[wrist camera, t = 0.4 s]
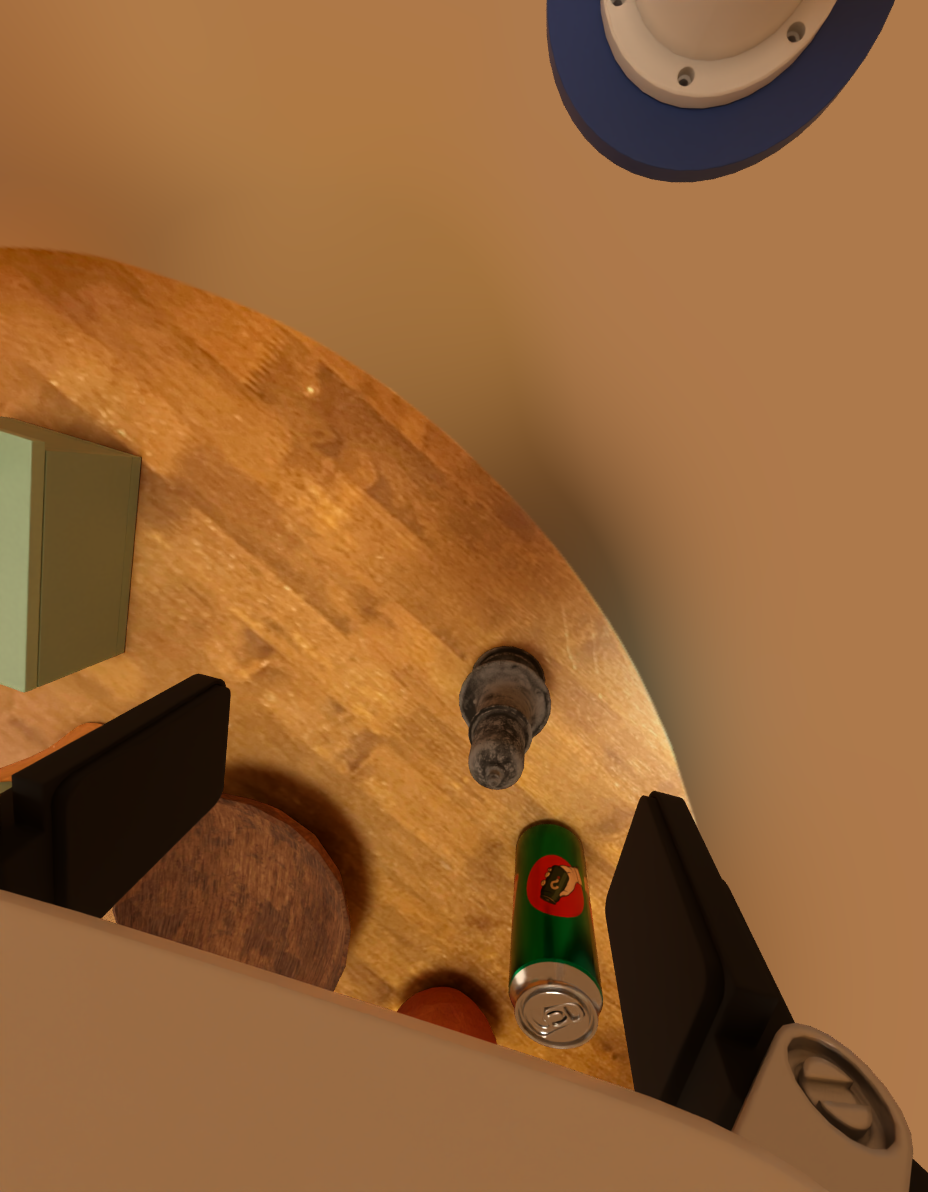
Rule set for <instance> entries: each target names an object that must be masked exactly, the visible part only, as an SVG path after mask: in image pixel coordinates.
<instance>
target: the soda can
mask: <svg viewBox="0 0 928 1192" xmlns="http://www.w3.org/2000/svg"><path fill="white" fill-rule="evenodd" d="M509 997H510V1000H511V1002H512V1005H513V1007H514V1012H515V1017H516V1021H517V1023H518V1025H519V1027H520V1028H521V1030H522V1031H523V1032H524V1033H525V1034H526V1035H527V1036H528V1037H529V1038H531V1039H532V1040H534V1041H536V1042H537V1043H539V1044H542V1045H544V1046H547V1047H551V1048H557V1049H569V1048H575V1047H578V1046H581V1045H583V1044H585V1043H587V1042H588V1041H589V1040H590V1039H591V1038H592V1037H593V1036H594V1035H595V1033H596V1031H597V1027H598V1016H599V1014H600V1012H601V1010H602V1006H603V995H602V987H601V979H600V972H599V964H598V956H597V949H596V941H595V934H594V926H593V918H592V911H591V903H590V895H589V888H588V880H587V873H586V865H585V857H584V850H583V847H582V844H581V843H580V841H579V839H578V838H577V837H576V836H575V835H574V834H573V833H572V832H570V831H569V830H567V829H565V828H563V827H561V826H558V825H554V824H540V825H536V826H534V827H531V828H530V829H528V830H526V831H525V832H524V833H523V834H522V835H521V836H520V838H519V840H518V842H517V846H516V859H515V877H514V896H513V914H512V933H511V951H510V970H509Z"/></svg>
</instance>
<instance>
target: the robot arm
mask: <svg viewBox="0 0 928 1192" xmlns="http://www.w3.org/2000/svg"><path fill="white" fill-rule="evenodd" d="M836 1H837V0H600V5H601V16H602V21H603V25H604V30H605V35H606V38H607V41H608V43H609V46H610V48H611V51H612V53H613V56H614V58H615V60H616V61H617V63H618V64H619V66H620V67H621V69H622V70H623V72H624V73H625V75H626V76H627V77H628V78H629V79H630V80H631V81H632V82H633V83H634V84H635V85H636V86H637V87H638V88H639V89H640V90H641V91H642V92H644V93H646V94H648V95H649V96H651V97H653V98H655V99H656V100H658V101H660V102H663V103H666V104H670V105H673V106H677V107H680V108H700V109H703V108H709V107H715V106H721V105H726V104H728V103H731V102H734V101H736V100H739V99H741V98H744V97H747V96H749V95H750V94H752V93H754V92H755V91H757V90H759V89H760V88H762V87H764V86H765V85H767V84H769V83H770V82H772V81H773V80H774V79H775V78H776V77H777V76H779V75H780V74H781V73H782V72H783V71H784V70H786V69H787V68H788V67H789V66H790V65H791V64H792V63H793V62H794V61H795V60H796V59H797V58H798V56H799V55H800V54H801V53H802V52H803V51H804V50H805V48H806V47H807V46H808V45H809V44H810V43H811V41H812V40H813V38H814V37H815V35H816V34H817V32H818V30H819V29H820V27H821V26H822V24H823V23H824V21H825V20H826V18H827V17H828V15H829V13H830V12H831V10H832V8H833V6H834V4H835V3H836ZM682 85H683V86H682ZM230 697H231V693H230V689H229V688H227V687H226V685H225V682H224V681H223V680H222V679H218V678H214V677H210V676H206V675H202V674H195V675H193V676H191V677H189V678H187V679H186V680H184V681H182V682H180V683H178V684H176V685H175V686H173V687H171V688H169V689H167V690H166V691H164V692H162V693H160V694H158V695H156V696H155V697H153V698H151V699H149V700H147V701H146V702H144V703H142V704H140V705H138V706H136V707H135V708H133V709H131V710H129V711H127V712H126V713H124V714H122V715H120V716H118V717H116V718H115V719H113V720H111V721H109V722H107V723H105V724H104V725H102V726H100V727H98V728H96V729H95V730H93V731H91V732H89V733H87V734H85V735H84V736H82V737H80V738H78V739H76V740H75V741H73V742H71V743H69V744H67V745H65V746H64V747H62V748H60V749H58V750H56V751H55V752H53V753H51V754H49V755H47V756H45V757H44V758H42V759H40V760H38V761H36V762H35V763H33V764H31V765H29V766H27V767H25V768H24V769H22V770H20V771H18V772H16V773H15V774H13V775H11V777H12V787H11V788H9V789H7V790H6V791H4V792H2V793H1V794H0V1192H928V1173H927V1172H926V1171H925V1170H924V1169H923V1168H922V1167H921V1166H920V1165H919V1164H918V1163H917V1162H916V1161H915V1160H914V1159H913V1158H912V1157H913V1147H912V1139H911V1132H910V1130H909V1128H908V1125H907V1123H906V1120H905V1118H904V1116H903V1113H902V1111H901V1109H900V1108H899V1107H898V1105H897V1103H896V1102H895V1100H894V1099H893V1097H892V1096H891V1094H890V1093H889V1091H888V1089H887V1088H886V1087H885V1086H884V1084H883V1083H882V1082H881V1081H880V1080H879V1079H878V1077H877V1076H876V1075H875V1074H874V1073H873V1072H872V1070H871V1069H870V1068H869V1067H868V1066H867V1065H866V1064H865V1063H864V1062H862V1061H861V1060H860V1059H859V1058H858V1057H857V1056H856V1055H855V1054H854V1053H853V1052H852V1051H851V1050H849V1049H848V1048H846V1047H845V1046H843V1044H841V1043H840V1042H838V1041H837V1040H835V1039H834V1038H833V1037H831V1036H829V1035H828V1034H826V1033H824V1032H822V1031H820V1030H817V1029H815V1028H813V1027H811V1026H807V1025H802V1024H798V1023H795V1022H794V1020H793V1018H792V1016H791V1014H790V1012H789V1010H788V1008H787V1006H786V1004H785V1001H784V999H783V997H782V995H781V993H780V991H779V989H778V987H777V985H776V983H775V981H774V979H773V977H772V975H771V973H770V971H769V969H768V967H767V965H766V962H765V960H764V958H763V956H762V955H761V952H760V950H759V948H758V946H757V944H756V942H755V940H754V938H753V936H752V934H751V932H750V930H749V928H748V926H747V924H746V922H745V919H744V917H743V915H742V913H741V911H740V909H739V907H738V905H737V903H736V901H735V899H734V897H733V895H732V893H731V891H730V889H729V887H728V885H727V884H726V882H725V881H724V880H722V878H721V876H720V874H719V872H718V870H717V868H716V866H715V864H714V862H713V860H712V858H711V855H710V853H709V851H708V849H707V847H706V845H705V843H704V841H703V839H702V837H701V835H700V832H699V830H698V828H697V826H696V824H695V822H694V820H693V818H692V816H691V814H690V812H689V810H688V807H687V805H686V803H685V801H684V800H683V799H682V798H680V797H676V796H672V795H669V794H665V793H661V792H657V791H653V792H651V794H650V795H649V797H648V796H644V795H643V796H642V797H641V798H640V800H639V802H638V805H637V808H636V811H635V814H634V817H633V820H632V823H631V826H630V829H629V832H628V835H627V838H626V841H625V844H624V847H623V850H622V853H621V856H620V859H619V862H618V865H617V868H616V871H615V874H614V876H613V879H612V882H611V885H610V888H609V891H608V894H607V898H606V906H605V914H606V921H607V927H608V933H609V939H610V945H611V951H612V957H613V963H614V969H615V975H616V981H617V987H618V993H619V999H620V1005H621V1011H622V1017H623V1023H624V1029H625V1035H626V1041H627V1047H628V1053H629V1059H630V1065H631V1071H632V1077H633V1083H634V1089H635V1091H632V1090H629V1089H627V1088H624V1087H621V1086H618V1085H615V1084H612V1083H609V1082H606V1081H603V1080H601V1079H598V1078H595V1077H592V1076H589V1075H586V1074H583V1073H580V1072H577V1071H575V1070H572V1069H569V1068H566V1067H563V1066H560V1065H557V1064H554V1063H552V1062H549V1061H546V1060H543V1059H540V1058H537V1057H534V1056H530V1055H527V1054H524V1053H521V1052H518V1051H515V1050H512V1049H509V1048H506V1047H503V1046H500V1045H497V1044H494V1043H490V1042H487V1041H484V1040H481V1039H478V1038H475V1037H472V1036H469V1035H466V1034H463V1033H460V1032H457V1031H454V1030H450V1029H447V1028H444V1027H441V1026H438V1025H435V1024H432V1023H429V1022H426V1021H423V1020H420V1019H417V1018H414V1017H411V1016H407V1015H404V1014H401V1013H398V1012H395V1011H392V1010H389V1009H386V1008H383V1007H380V1006H376V1005H373V1004H370V1003H367V1002H364V1001H361V1000H358V999H354V998H351V997H348V996H345V995H342V994H339V993H336V992H333V991H329V990H326V989H323V988H320V987H317V986H314V985H311V984H307V983H304V982H301V981H298V980H295V979H292V978H289V977H285V976H282V975H279V974H276V973H273V972H270V971H266V970H263V969H260V968H257V967H254V966H251V965H248V964H244V963H241V962H238V961H235V960H232V959H229V958H225V957H222V956H219V955H216V954H213V953H210V952H206V951H203V950H200V949H197V948H193V947H190V946H187V945H184V944H181V943H177V942H174V941H171V940H168V939H164V938H161V937H158V936H155V935H152V934H148V933H145V932H142V931H139V930H135V929H132V928H129V927H126V926H123V925H119V924H116V923H113V922H110V921H106V920H103V919H101V918H102V917H103V916H104V915H105V914H106V913H107V912H108V911H109V910H110V909H111V908H112V907H113V906H114V905H115V904H116V903H117V902H118V901H119V900H120V899H121V898H122V897H123V896H124V895H125V894H126V893H127V892H128V891H129V890H130V889H131V888H132V887H133V886H134V885H135V884H136V883H137V882H138V881H139V880H140V879H141V878H142V877H143V876H144V875H145V874H146V873H147V872H148V871H149V870H150V869H151V868H152V867H153V866H154V865H155V864H156V863H157V862H158V861H159V860H160V859H161V858H162V857H163V856H164V855H165V854H166V853H167V852H168V851H169V850H170V849H171V848H172V847H173V846H174V845H175V844H176V843H178V842H179V841H180V840H181V839H182V838H183V837H184V836H185V835H186V834H187V833H188V832H189V831H190V830H191V829H192V828H193V827H194V826H195V825H196V824H197V823H198V822H199V821H200V820H201V819H202V818H203V817H204V816H205V815H206V814H207V813H208V812H209V811H210V810H211V809H212V808H213V807H214V806H215V805H216V803H217V802H218V800H219V799H220V797H221V795H222V792H223V788H224V776H225V763H226V749H227V736H228V723H229V710H230Z"/></svg>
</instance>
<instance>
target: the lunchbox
mask: <svg viewBox="0 0 928 1192" xmlns="http://www.w3.org/2000/svg"><path fill="white" fill-rule="evenodd" d="M0 428H2V429H5V430H8V431H12V432H15V433H18V434H21V435H25V436H28V437H31V438H35V439H38V440H41V441H44V442H45V463H44V492H43V521H42V549H41V578H40V607H39V635H38V664H37V687H40V686H42V685H45V684H47V683H50V682H52V681H55V680H57V679H60V678H62V677H65V676H67V675H69V674H72V673H74V672H77V671H79V670H82V669H84V668H87V667H89V666H92V665H94V664H97V663H99V662H101V661H104V660H106V659H109V658H111V657H114V656H116V655H119V654H121V653H124V649H125V637H126V626H127V615H128V603H129V592H130V581H131V569H132V558H133V547H134V535H135V524H136V513H137V501H138V490H139V479H140V467H141V457H139V456H135V455H132V454H129V453H125V452H122V451H119V450H115V449H112V448H109V447H106V446H102V445H99V444H96V443H92V442H89V441H86V440H83V439H79V438H76V437H73V436H69V435H66V434H63V433H59V432H56V431H53V430H50V429H46V428H43V427H40V426H36V425H33V424H30V423H26V422H23V421H20V420H17V419H13V418H8V417H0Z"/></svg>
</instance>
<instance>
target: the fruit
mask: <svg viewBox="0 0 928 1192" xmlns="http://www.w3.org/2000/svg"><path fill="white" fill-rule="evenodd" d="M397 1012H398V1013H401V1014H404V1015H407V1016H411V1017H414V1018H417V1019H420V1020H423V1021H426V1022H429V1023H432V1024H435V1025H438V1026H441V1027H444V1028H447V1029H450V1030H454V1031H457V1032H460V1033H463V1034H466V1035H469V1036H472V1037H475V1038H478V1039H481V1040H484V1041H487V1042H490V1043H494V1044H497V1043H496V1039H495V1037H494V1034H493V1032H492V1029H491V1027H490V1025H489V1023H488V1020H487V1019H486V1017H485V1015H484V1014H483V1013H482V1011H481V1010H480V1009H479V1008H478V1006H477V1005H476V1004H475V1003H474V1002H473V1001H472V1000H471V999H470V998H469V997H468V996H466V995H465V994H463V993H462V992H460V991H459V990H457V989H454V988H451V987H434V988H429V989H426V990H424V991H421V992H418V993H416V994H415V995H413V996H412V997H411V998H409V999H408V1000H407V1001H406V1002H405V1003H404V1004H403V1005H402V1006H401V1007H400V1008H399V1009H398V1011H397Z"/></svg>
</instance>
